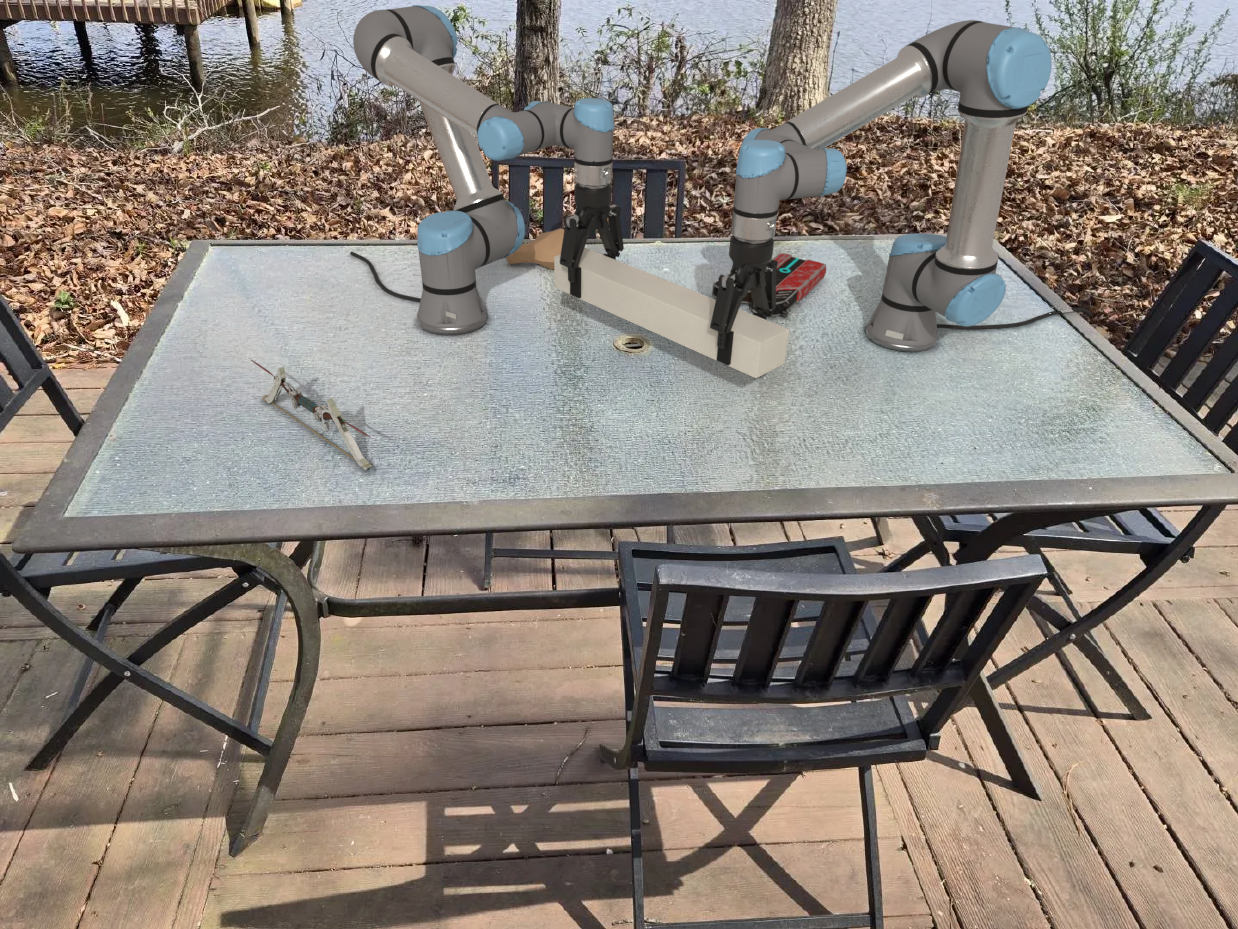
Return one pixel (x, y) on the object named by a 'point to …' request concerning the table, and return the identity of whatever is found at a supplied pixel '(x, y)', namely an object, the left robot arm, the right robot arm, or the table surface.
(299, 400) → the bow
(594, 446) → the table surface
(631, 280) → the wide beam
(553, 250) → the squash
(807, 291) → the gun
